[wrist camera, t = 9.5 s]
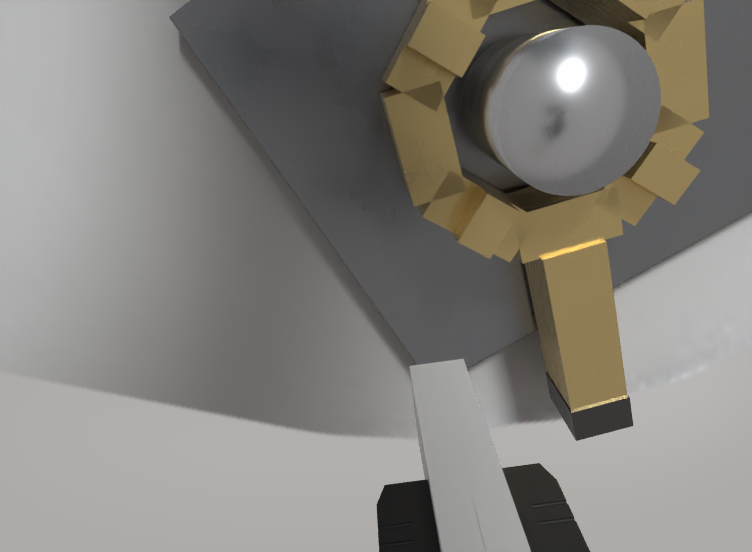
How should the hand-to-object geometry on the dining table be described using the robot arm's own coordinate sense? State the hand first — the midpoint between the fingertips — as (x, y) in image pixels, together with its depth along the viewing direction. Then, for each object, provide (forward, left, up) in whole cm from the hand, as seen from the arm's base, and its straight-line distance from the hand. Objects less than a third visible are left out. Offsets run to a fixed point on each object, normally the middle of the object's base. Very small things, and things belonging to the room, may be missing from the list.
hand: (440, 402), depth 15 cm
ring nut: (+1, +7, -10) cm, 12 cm away
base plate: (-4, +8, -11) cm, 14 cm away
